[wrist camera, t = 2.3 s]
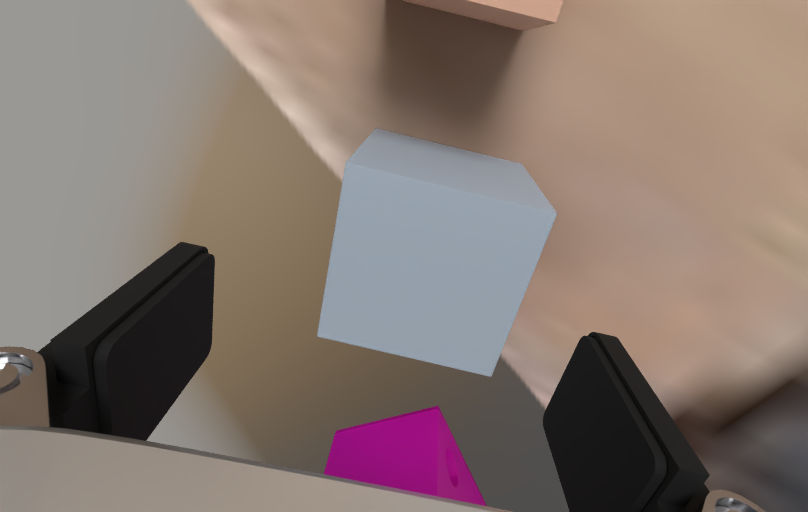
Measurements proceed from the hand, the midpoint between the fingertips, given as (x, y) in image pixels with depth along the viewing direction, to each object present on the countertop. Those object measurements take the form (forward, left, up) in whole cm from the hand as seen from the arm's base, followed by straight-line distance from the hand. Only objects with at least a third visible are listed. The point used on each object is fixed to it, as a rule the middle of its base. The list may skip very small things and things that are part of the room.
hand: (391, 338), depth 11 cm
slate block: (-1, 0, -9) cm, 9 cm away
